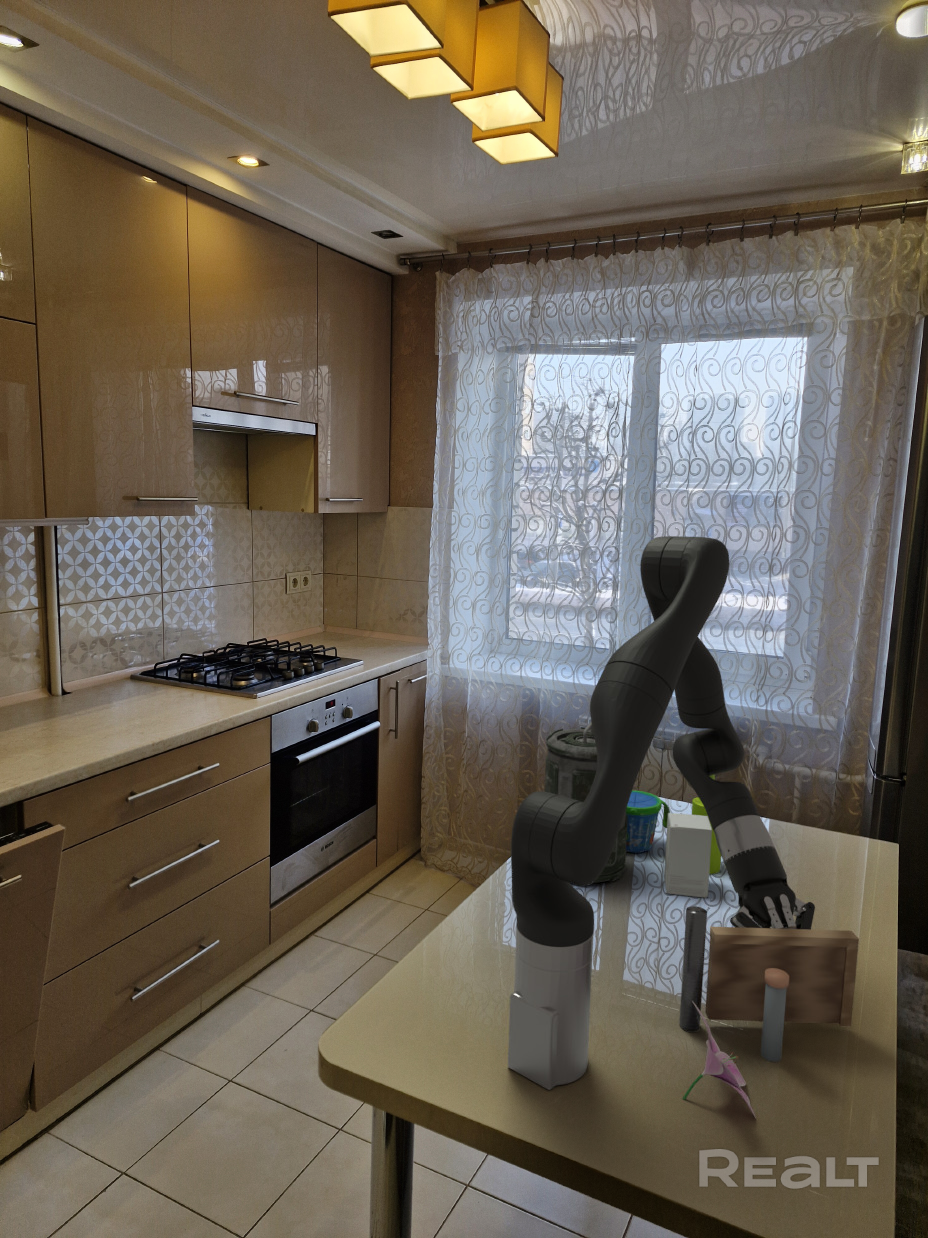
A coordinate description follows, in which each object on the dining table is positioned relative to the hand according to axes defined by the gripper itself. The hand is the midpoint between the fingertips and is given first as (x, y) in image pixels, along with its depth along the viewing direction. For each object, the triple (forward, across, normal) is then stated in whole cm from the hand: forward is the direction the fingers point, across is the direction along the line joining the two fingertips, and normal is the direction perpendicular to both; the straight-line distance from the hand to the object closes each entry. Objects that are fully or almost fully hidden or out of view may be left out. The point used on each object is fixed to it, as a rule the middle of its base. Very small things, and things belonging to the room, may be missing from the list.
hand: (799, 980), depth 107 cm
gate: (+4, -4, +3) cm, 6 cm away
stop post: (+8, -8, 0) cm, 11 cm away
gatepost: (+2, -14, +6) cm, 16 cm away
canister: (-31, -8, +41) cm, 52 cm away
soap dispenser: (-27, +16, +37) cm, 49 cm away
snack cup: (-36, +7, +46) cm, 58 cm away
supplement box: (-22, +7, +32) cm, 40 cm away
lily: (+11, -19, -3) cm, 22 cm away
